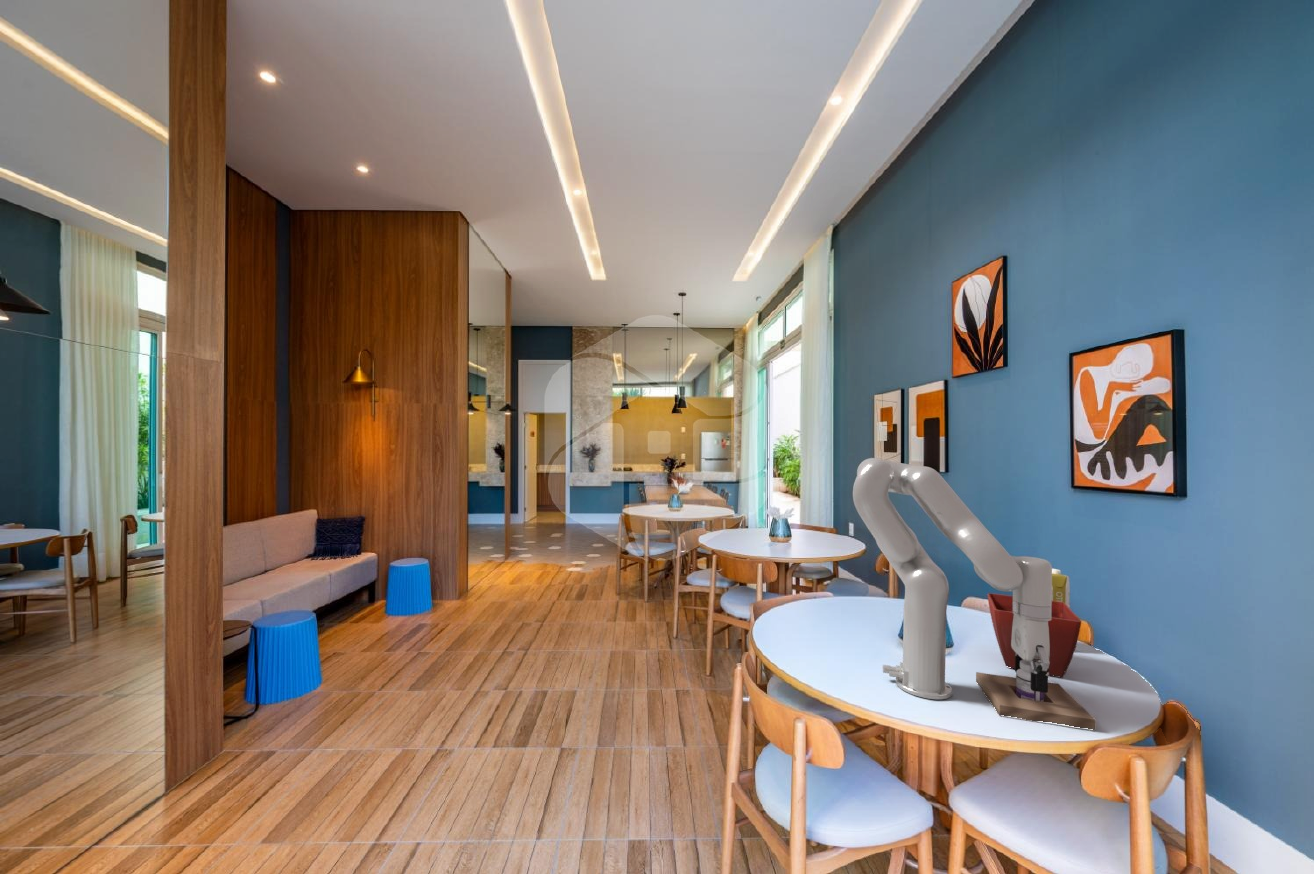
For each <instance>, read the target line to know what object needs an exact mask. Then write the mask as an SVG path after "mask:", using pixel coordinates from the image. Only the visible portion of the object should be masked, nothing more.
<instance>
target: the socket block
mask: <svg viewBox="0 0 1314 874" xmlns="http://www.w3.org/2000/svg"><path fill="white" fill-rule="evenodd" d="M975 674H976V675H975V682H977V683H978V684H977V683H976V684H977V685H978V687H979V686H980V687H981V688H980V687H979V688H980V690H981V689H982V690H981V691H982V693H983V692H984V693H985V694H984V693H983V694H984V696H985V695H986V696H987V697H986V696H985V697H986V698H988V699H989V700H990V701H989V700H988V699H987V700H988V701H989V703H990V702H991V703H992V704H991V703H990V704H991V706H992V705H993V706H992V707H993V708H994V707H995V709H996V710H995V709H994V710H995V712H996V711H997V712H996V713H997V714H999V715H1004V716H1011V717H1017V718H1022V719H1026V720H1025V721H1027V720H1032V721H1031V722H1033V721H1043V722H1052V723H1057V724H1065V725H1069V726H1074V727H1080V728H1088V729H1093V730H1095V731H1097V729H1096V728H1097V726H1096V725H1097V724H1096V723H1097V720H1096V719H1095V718H1094V716H1093V715H1092V714H1090V713H1089V711H1087V710H1086V708H1084V707H1083V706H1082V705H1081V704H1080V703H1079V702H1078V701H1077V700H1076V699H1075V698H1074V697H1073V696H1072V695H1071V694H1070V693H1069V692H1068V691H1066V689H1064V687H1062V686H1061V685H1060V683H1056V682H1049V681H1048V692H1047V693H1044V702H1042V701H1035V700H1029V699H1022V698H1018V696H1017V695H1016V677H1012V676H1004V675H999V674H992V673H984V672H977V671H976V672H975ZM999 715H998V716H999ZM1095 731H1094V732H1095Z"/></svg>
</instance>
